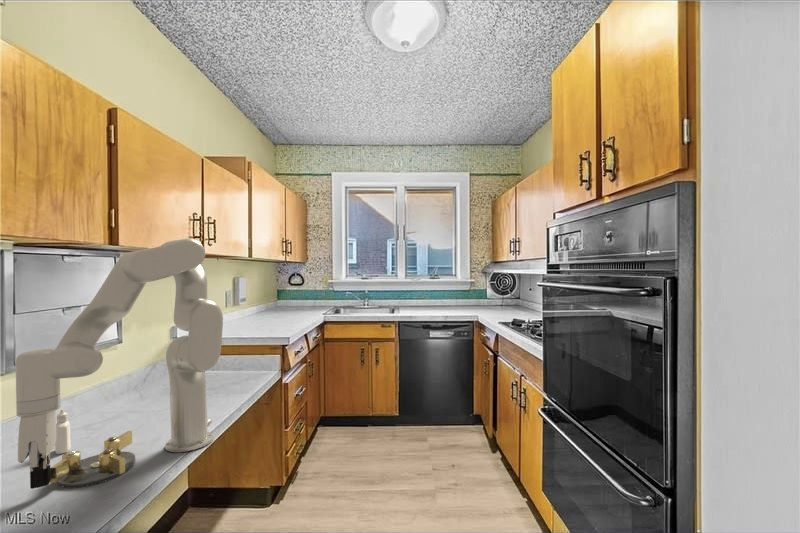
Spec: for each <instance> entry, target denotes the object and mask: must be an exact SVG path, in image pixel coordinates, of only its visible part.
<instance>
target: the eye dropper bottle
mask: <svg viewBox="0 0 800 533" xmlns="http://www.w3.org/2000/svg"><path fill="white" fill-rule="evenodd" d="M68 415H69V414H68V412H65V409H64V408H60V411H59V413H58V414H57V415H56V444H55V446H54V451H55V454H56V455H64V454H66V453H67V452H68V451H71V450H72V449H71V448H72V447H71V446H72V445H71V422H70V421H69V416H68Z"/></svg>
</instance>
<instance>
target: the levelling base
mask: <svg viewBox="0 0 800 533" xmlns="http://www.w3.org/2000/svg"><path fill="white" fill-rule="evenodd" d="M118 456H120V457H123V458H125V473H127V472H128V471H130V470H131V469H132V468H133V467H134V466H135V465H134V464H136V454H135V453H133V452H132V451H131V452H130V451H121V454H120V455H118ZM130 468H131V469H130ZM129 469H130V470H129ZM126 471H127V472H126ZM119 475H120V476H121V474H117V473H115V472H113V471H109V472H99V454H96V455H92V456H89V457H86V458H83V459H81V469H80V470H78V471H76V472H73V473H68V474H66V475H65V476H64V477H62V478H61V479H60V480H59V481H57V482H56V484H57V486H59V487H61V486H64V487H63V488H66V487H76V488H82V487H81V486H84V487H88V486H87V485H89V486H92V485H91V484H94V485H96V484H95V483H98V484H100V483H99V482H101V483H103V482H102V481H105V480H107V481H109V480H108V479H110V480H112V479H111V478H113V477H115V478H117V477H116V476H118V477H120V476H119ZM122 475H123V473H122ZM113 479H114V478H113ZM105 482H106V481H105Z"/></svg>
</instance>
